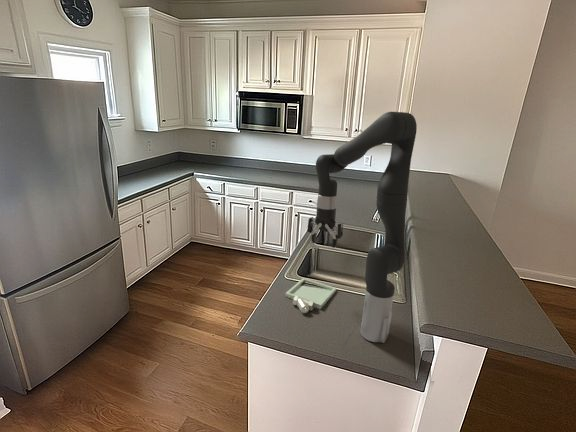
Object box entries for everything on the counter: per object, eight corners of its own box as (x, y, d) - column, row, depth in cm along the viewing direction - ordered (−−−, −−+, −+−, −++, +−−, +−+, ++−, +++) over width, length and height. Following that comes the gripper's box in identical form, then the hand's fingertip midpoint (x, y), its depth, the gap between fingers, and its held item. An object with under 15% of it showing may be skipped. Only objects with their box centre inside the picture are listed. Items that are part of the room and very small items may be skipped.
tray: (336, 292, 145) (336, 288, 145) (320, 309, 132) (320, 305, 131) (303, 281, 153) (303, 277, 152) (285, 297, 139) (285, 293, 139)
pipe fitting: (307, 317, 127) (314, 308, 133) (308, 308, 126) (315, 300, 132) (288, 310, 131) (295, 302, 136) (289, 301, 129) (296, 293, 135)
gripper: (347, 206, 131) (343, 245, 136) (314, 201, 138) (311, 238, 142) (340, 211, 125) (337, 251, 130) (305, 205, 131) (303, 244, 136)
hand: (323, 244), depth 136 cm, fingers open, 8 cm apart
